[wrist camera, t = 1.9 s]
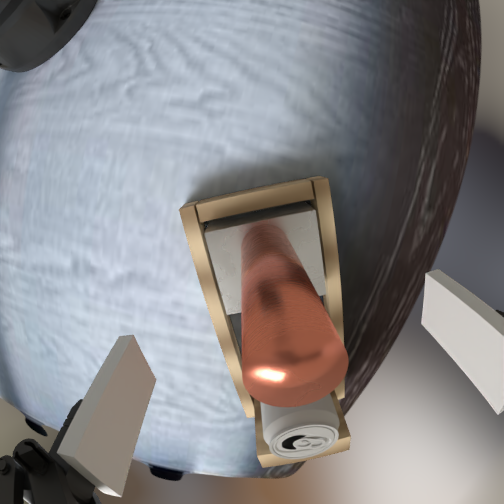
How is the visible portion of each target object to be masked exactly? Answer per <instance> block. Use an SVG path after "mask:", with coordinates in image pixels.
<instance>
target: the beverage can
mask: <svg viewBox="0 0 504 504" xmlns="http://www.w3.org/2000/svg"><path fill="white" fill-rule="evenodd" d="M260 403H261V415H262V426H263V437H264V440H265V442H266V443H267V444H268V445H269V449H270V452H271V453H272V454H273V455H275V456H277V457H280V458H284V459H303V458H308V457H312V456H315V455H318V454H320V453H322V452H324V451H326V450H328V449H329V448H331V447H332V446H333V445H334V444H335V443H336V441H337V440H338V437H339V433H338V428H339V424H340V422H339V418H338V415H337V412H336V409H335V406H334V403H333V400H332V397H331V394H330V393H329V394H328V395H326V396H325V397H323V398H321V399H320V400H317V401H315V402H313V403H310V404H307V405H303V406H297V407H275V406H271V405H267V404H264V403H262V402H260Z"/></svg>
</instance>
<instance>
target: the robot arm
mask: <svg viewBox="0 0 504 504" xmlns="http://www.w3.org/2000/svg"><path fill="white" fill-rule="evenodd" d="M96 1H97V0H0V68H1V69H4V70H8V71H12V72H25V71H29V70H31V69H33V68H36V67H37V66H39V65H41V64H42V63H44V62H45V61H47V60H48V59H50V58H51V57H52V56H53V55H55V54H56V53H57V52H58V51H59V50H60V49H61V48H62V47H63V46H64V45H65V44H66V43H67V42H68V41H69V40H70V39H71V38H72V37H73V36H74V35H75V33H76V32H77V31H78V30H79V28H80V27H81V26H82V24H83V23H84V22H85V20H86V19H87V17H88V16H89V14H90V12H91V11H92V9H93V7H94V5H95V3H96ZM421 324H422V325H423V326H424V327H425V328H426V329H427V330H428V332H430V334H432V336H433V337H434V338H435V339H436V340H437V341H438V343H439V344H440V345H441V346H442V347H443V348H444V349H445V350H446V351H447V353H448V354H449V355H450V356H451V357H452V358H453V359H454V361H456V363H457V364H458V365H459V367H460V368H461V369H462V370H463V371H464V373H465V374H466V375H467V376H468V377H469V379H470V380H471V381H472V382H473V384H474V385H475V386H476V387H477V388H478V390H479V391H480V392H481V394H482V395H483V396H484V397H485V399H486V400H487V401H488V402H489V404H490V405H491V406H492V408H493V409H494V410H495V412H496V413H497V414H500V413H501V412H502V411H504V312H501V311H499V310H496V311H495V310H493V309H492V308H491V307H490V306H488V305H487V304H486V303H484V302H483V301H482V300H480V299H479V298H478V297H476V296H475V295H474V294H472V293H471V292H470V291H468V290H467V289H466V288H464V287H463V286H461V285H460V284H459V283H457V282H455V281H454V280H453V279H451V278H450V277H449V276H447V275H446V274H444V273H443V272H442V271H440V270H439V269H437V270H434V271H431V272H428V273H426V275H425V291H424V303H423V314H422V322H421ZM155 382H156V378H155V376H154V375H153V373H152V371H151V369H150V367H149V365H148V363H147V361H146V359H145V357H144V355H143V353H142V351H141V349H140V347H139V345H138V343H137V341H136V339H135V337H134V335H126V336H119V338H118V339H117V341H116V343H115V344H114V346H113V348H112V349H111V351H110V353H109V355H108V356H107V358H106V360H105V361H104V363H103V365H102V367H101V368H100V370H99V372H98V374H97V375H96V377H95V379H94V381H93V383H92V384H91V386H90V388H89V390H88V392H87V394H86V395H85V397H84V399H80V400H79V401H78V402H77V403H76V404H75V405H74V406H73V407H72V409H71V411H70V412H69V414H68V416H67V419H66V420H65V422H64V424H63V427H62V428H61V430H60V431H59V433H58V435H57V437H56V440H55V441H54V443H53V446H52V448H51V450H50V452H49V453H47V452H46V451H45V450H44V449H43V448H42V447H41V446H40V445H39V444H38V442H36V441H35V440H34V439H25V440H23V441H21V442H20V443H19V444H18V445H17V446H16V447H15V449H14V451H13V457H11V456H8V455H5V456H3V457H1V458H0V504H23V503H24V501H23V500H25V501H26V502H28V503H29V504H101V502H100V500H99V498H98V496H97V495H96V494H95V493H94V492H93V491H94V488H95V487H97V488H98V489H99V490H101V491H102V492H103V493H105V494H109V495H114V496H119V497H122V493H123V490H124V486H125V482H126V478H127V474H128V471H129V467H130V464H131V460H132V457H133V453H134V450H135V446H136V443H137V439H138V436H139V433H140V430H141V426H142V423H143V420H144V417H145V413H146V410H147V407H148V404H149V401H150V398H151V395H152V392H153V388H154V385H155Z"/></svg>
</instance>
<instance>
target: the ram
mask: <svg viewBox="0 0 504 504" xmlns="http://www.w3.org/2000/svg"><path fill="white" fill-rule="evenodd" d="M204 234H205V238H206V242H207V245H208V249H209V253H210V257H211V260H212V264H213V267H214V271H215V275H216V278H217V282H218V285H219V289H220V292H221V296H222V299H223V303H224V306H225V309H226V313H227V315H230V314H235V313H241V325H242V380H243V384H244V386H245V388H246V390H247V391H248V393H249V394H250V395H251V396H252V397H254V398H255V399H256V400H258V401H260V402H262V403H264V404H267V405H271V406H275V407H297V406H303V405H307V404H310V403H313V402H315V401H317V400H320V399H321V398H323V397H325V396H326V395H328V394H329V393H331V392H332V391H333V390H334V389H335V388H336V387H337V386H338V385H339V384H340V383H341V381H342V380H343V378H344V377H345V374H346V372H347V369H348V363H349V360H348V354H347V351H346V349H345V347H344V345H343V343H342V341H341V339H340V337H339V335H338V333H337V331H336V329H335V327H334V325H333V323H332V321H331V319H330V317H329V315H328V313H327V311H326V309H325V307H324V305H323V303H322V301H321V299H320V297H319V296H321V295H325V294H326V288H325V278H324V269H323V261H322V253H321V245H320V238H319V230H318V223H317V217H316V210H315V209H314V208H312V207H311V206H310V205H308V204H307V203H306V202H304V201H302V202H297V203H292V204H286V205H281V206H276V207H271V208H267V209H262V210H257V211H252V212H247V213H243V214H238V215H233V216H229V217H224V218H220V219H215V220H211V221H210V222H209V224H208V226H207V228H206V230H205V233H204Z"/></svg>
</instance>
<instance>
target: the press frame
mask: <svg viewBox="0 0 504 504" xmlns="http://www.w3.org/2000/svg"><path fill="white" fill-rule="evenodd" d="M305 200H310V202H311V207H312V208H314V209H315V210H316V217H317V223H318V230H319V238H320V245H321V253H322V261H323V269H324V278H325V288H326V294H325V295H323V301H324V307H325V309H326V311H327V313H328V315H329V317H330V319H331V321H332V323H333V325H334V327H335V329H336V331H337V333H338V335H339V337H340V339H341V341H342V343H343V345H344V331H343V310H342V295H341V281H340V269H339V259H338V249H337V240H336V231H335V223H334V215H333V208H332V201H331V194H330V187H329V181H328V178H325V177H322V176H316V177H310V178H306V179H299V180H293V181H288V182H282V183H277V184H272V185H267V186H262V187H257V188H252V189H248V190H243V191H238V192H234V193H229V194H225V195H220V196H216V197H212V198H207V199H203V200H200V201H199V202H198V201H195V202H191V203H187V204H184V205H183V206H182V207H181V208H180V209H179V211H180V215H181V219H182V223H183V226H184V230H185V234H186V237H187V241H188V244H189V248H190V251H191V255H192V258H193V262H194V265H195V268H196V272H197V275H198V278H199V282H200V285H201V288H202V291H203V294H204V298H205V301H206V304H207V307H208V310H209V313H210V316H211V319H212V322H213V325H214V328H215V331H216V334H217V337H218V340H219V343H220V346H221V349H222V352H223V354H224V357H225V360H226V363H227V366H228V368H229V371H230V374H231V377H232V379H233V382H234V385H235V387H236V390H237V393H238V395H239V398H240V400H241V403H242V406H243V408H244V411H245V413H246V416H247V418H250V417H255V430H256V446H257V457H258V459H259V461H260V463H261V465H262V467H271V466H277V465H284V464H289V463H295V462H300V461H305V460H310V459H314V458H319V457H323V456H327V455H331V454H335V453H339V452H342V451H346V450H349V448H350V438H351V436H350V433H349V430H348V427H347V424H346V421H345V419H344V415H343V413H342V410H341V407H340V404H339V401H338V399H342V398H344V385H345V377H344V378H343V380H342V381H341V383H340V384H339V385H338V386H337V387H336V388H335V389H334V390H333V391H332V392H331V393H330V394H331V397H332V400H333V403H334V406H335V409H336V412H337V415H338V418H339V422H340V424H339V428H338V433H339V437H338V440H337V441H336V443H335V444H334V445H333V446H332V447H331V448H329V449H328V450H326V451H324V452H322V453H320V454H318V455H315V456H312V457H308V458H303V459H284V458H280V457H277V456H275V455H273V454H272V453H271V452H270V449H269V445H268V444H267V443H266V442H265V440H264V437H263V426H262V415H261V403H260V401H258V400H256V399H255V398H254V397H252V396H251V395H250V394H249V393H248V391H247V390H246V388H245V386H244V384H243V380H242V356H241V353H240V349H239V346H238V343H237V339H236V336H235V333H234V330H233V326H232V323H231V319H230V316H229V315H227V313H226V309H225V306H224V303H223V299H222V296H221V292H220V289H219V285H218V282H217V278H216V275H215V271H214V267H213V264H212V260H211V257H210V253H209V249H208V245H207V242H206V238H205V234H204V233H205V230H206V229H205V225H204V221H209V220H213V219H218V218H222V217H227V216H231V215H236V214H240V213H245V212H250V211H255V210H259V209H264V208H269V207H274V206H279V205H284V204H289V203H294V202H299V201H305Z"/></svg>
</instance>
